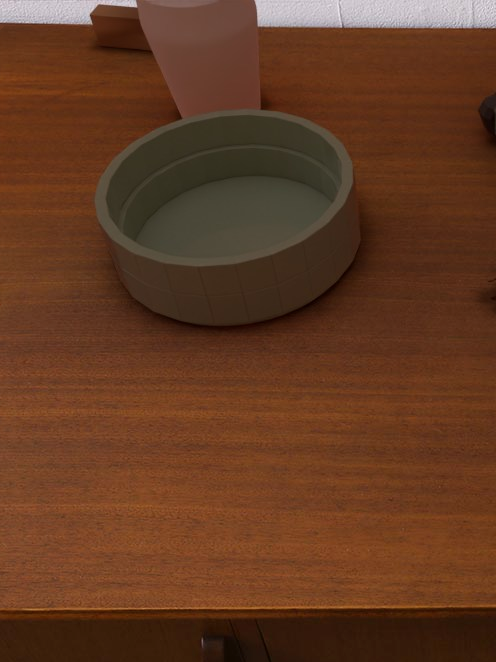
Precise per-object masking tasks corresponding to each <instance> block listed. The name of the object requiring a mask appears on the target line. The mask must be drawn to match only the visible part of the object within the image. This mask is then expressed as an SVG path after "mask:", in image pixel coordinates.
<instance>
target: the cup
mask: <svg viewBox="0 0 496 662" xmlns="http://www.w3.org/2000/svg"><path fill="white" fill-rule="evenodd" d="M135 3H136V7H137V8H138V13H139V19H140V24H141V27H142V29H143V32H144V34H145V36H146V38H147V41H148V43H149V45H150V47H151V50H152V51H151V50H150V51H151V53H152V54H153V57H154V59H155V61H156V63H157V65H158V67H159V71H160V72H161V74H162V76H163V79H164V81H165V83H166V86H167V88H168V90H169V92H170V94H171V97H172V98H173V99H172V100H173V101H174V103H175V105H176V108H177V110H178V112H179V114H180V116H181V119H183V118H186V117H190V116H195V115H200V114H205V113H210V112H215V111H221V110H238V109H257V110H262V109H261V108H262V107H261V105H262V104H261V83H260V82H261V78H260V74H261V73H260V50H259V48H260V47H259V22H258V7H257V4H256V0H135Z"/></svg>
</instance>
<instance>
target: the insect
mask: <svg viewBox="0 0 496 662" xmlns="http://www.w3.org/2000/svg"><path fill="white" fill-rule="evenodd" d="M494 281H496V277H494V279H491V280H487V283H492V282H494ZM490 299H491V300H492V299H496V295H495V296H492V297H490Z"/></svg>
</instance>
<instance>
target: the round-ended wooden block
mask: <svg viewBox="0 0 496 662" xmlns="http://www.w3.org/2000/svg"><path fill="white" fill-rule="evenodd" d="M89 18H90V20H91V24H92V27H93V31H94V33H95V37H96V40H97V42H98V46H99V47H104V48H105V47H107V48H115V49H116V48H118V49H130V50H139V51H141V50H142V51H151V52H152V50H151V47H150V45H149V43H148V41H147V38H146V36H145V34H144V32H143V29H142V27H141V24H140V19H139V13H138V8H137V6H127V5H113V4H104V3H103V4H102V3H98V4H97V5H96V6H95V7H94V8H93V10H92V11H91V12H90V13H89Z"/></svg>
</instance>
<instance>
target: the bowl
mask: <svg viewBox="0 0 496 662" xmlns="http://www.w3.org/2000/svg"><path fill="white" fill-rule="evenodd" d="M356 185H357V184H356V177H355V169H354V162H353V161H352V159H351V157H350V155H349V152H348V150H347V149H346V146H345V145H344V143H342V141H340V140H339V139H338V138H337V136H335V135H334V134H333V133H332V132H331V131H330V130H328V129H327V128H325V127H323V126H321V125H320V124H317V123H315V122H313V121H312V120H310V119H308V118H305V117H301V116H298V115H294V114H290V113H286V112H283V111H278V110H267V109H260V110H257V109H238V110H221V111H215V112H210V113H205V114H200V115H195V116H190V117H186V118H183V119H182V118H181V119H178V120H176V121H173V122H172V121H171V122H170V123H168V124H164V125H161V126H158V127H156V128H155V129H154V130H151V131H150V132H148V133H146V134H144V135H143V136H141V137H139V138H137V139H135V140H134V141H132V142H131V143H130V144H129V145H127V146H126V147H125V148H123V150H122V151H120V152H119V153H118V154H117V155H115V156H114V157H113V158H112V160H111V161H110V163H109V164H108V165H107V167H106V168H105V170H104V172H103V173H102V174H101V176H100V177H99V179H98V182H97V185H96V190H95V194H94V198H93V203H94V210H95V214H96V220H97V223H98V225H99V228H100V230H101V233H102V236H103V239H104V241H105V244H106V247H107V249H108V252H109V255H110V257H111V260H112V263H113V266H114V269H115V271H116V274H117V277H118V278H119V280H120V282H121V283H122V285H123V287H125V289H126V290H127V292H128V293H129V294H130V296H131V297H132V298H133V299H134V300H136V301H138V302H139V303H141V304H142V305H143V306H144V307H146V308H147V309H149V310H150V311H152V312H154V313H156V314H159V315H162V316H165V317H168V318H171V319H173V320H177V321H179V322H183V323H187V324H193V325H199V326H209V327H232V326H233V327H234V326H243V325H250V324H255V323H256V324H257V323H260V322H265V321H269V320H272V319H275V318H279V317H281V316H284V315H286V314H289V313H291V312H294V311H297V310H299V309H300V308H302V307H304V306H306V305H308V304H309V303H312V301H314V300H316V299H317V298H318V297H320V296H322V295H324V293H325V292H327V291H328V290H329V289H331V287H333V285H335V284H336V283H337V282H338V281H339V280H340V278H341V277H342V276H343V275H344V273H345V272H346V271H347V269H349V267H350V266H351V265H352V263H353V262H354V260H355V257H356V254H357V251H358V249H359V246H360V244H361V240H362V239H361V237H362V236H361V235H362V234H361V216H360V209H359V202H358V194H357V186H356Z"/></svg>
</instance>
